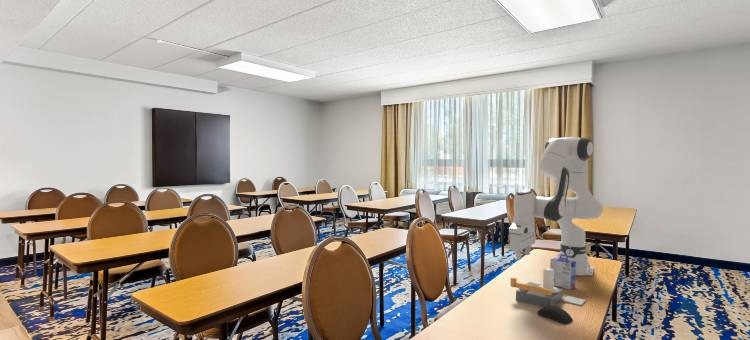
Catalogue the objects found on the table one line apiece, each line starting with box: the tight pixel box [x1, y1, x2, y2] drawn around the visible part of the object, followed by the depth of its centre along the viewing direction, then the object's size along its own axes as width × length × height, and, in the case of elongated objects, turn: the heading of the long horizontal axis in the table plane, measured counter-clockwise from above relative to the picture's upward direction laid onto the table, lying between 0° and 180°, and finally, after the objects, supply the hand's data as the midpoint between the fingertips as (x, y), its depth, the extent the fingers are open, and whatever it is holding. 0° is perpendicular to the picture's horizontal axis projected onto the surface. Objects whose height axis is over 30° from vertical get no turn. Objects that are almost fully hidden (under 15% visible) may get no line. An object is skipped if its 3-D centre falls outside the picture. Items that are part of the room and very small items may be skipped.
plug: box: [538, 267, 558, 294], centre depth 161 cm, size 8×8×13 cm
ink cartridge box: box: [549, 254, 577, 290], centre depth 178 cm, size 10×6×14 cm, turn 41°
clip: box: [510, 276, 552, 296], centre depth 157 cm, size 2×16×4 cm, turn 48°
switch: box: [515, 281, 564, 308], centre depth 162 cm, size 15×14×5 cm
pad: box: [562, 295, 586, 307], centre depth 160 cm, size 7×7×1 cm
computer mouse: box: [537, 305, 574, 325], centre depth 144 cm, size 6×11×4 cm, turn 38°
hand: (523, 257), depth 171 cm, fingers open, 8 cm apart
